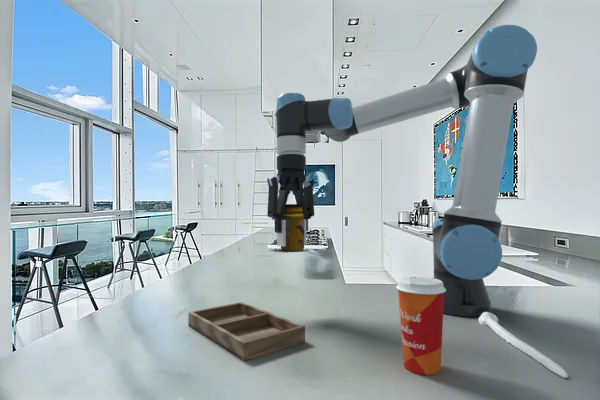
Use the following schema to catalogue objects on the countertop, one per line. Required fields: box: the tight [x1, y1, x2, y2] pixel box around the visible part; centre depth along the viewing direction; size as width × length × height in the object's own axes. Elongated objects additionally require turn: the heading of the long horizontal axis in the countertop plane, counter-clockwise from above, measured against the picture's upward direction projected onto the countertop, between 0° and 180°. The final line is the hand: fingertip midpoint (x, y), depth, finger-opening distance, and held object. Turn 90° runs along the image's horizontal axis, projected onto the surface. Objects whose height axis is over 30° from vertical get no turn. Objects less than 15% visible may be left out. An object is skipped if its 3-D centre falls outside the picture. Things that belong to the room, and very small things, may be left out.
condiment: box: [268, 203, 311, 254], centre depth 90 cm, size 7×8×12 cm
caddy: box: [187, 301, 306, 362], centre depth 73 cm, size 24×14×3 cm, turn 39°
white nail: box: [478, 312, 569, 379], centre depth 66 cm, size 28×4×3 cm, turn 177°
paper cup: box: [395, 276, 446, 376], centre depth 57 cm, size 8×8×14 cm
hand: (292, 244), depth 90 cm, fingers closed on condiment, 6 cm apart
